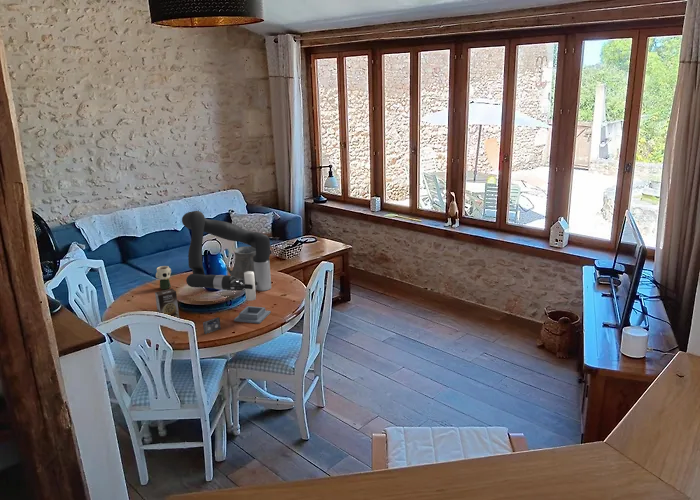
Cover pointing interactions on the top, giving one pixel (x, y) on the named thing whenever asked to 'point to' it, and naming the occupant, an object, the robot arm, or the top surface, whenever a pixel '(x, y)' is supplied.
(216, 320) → the mini dv tape
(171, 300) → the coffee box
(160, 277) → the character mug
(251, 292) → the cream canister
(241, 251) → the vessel
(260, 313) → the slate socket
